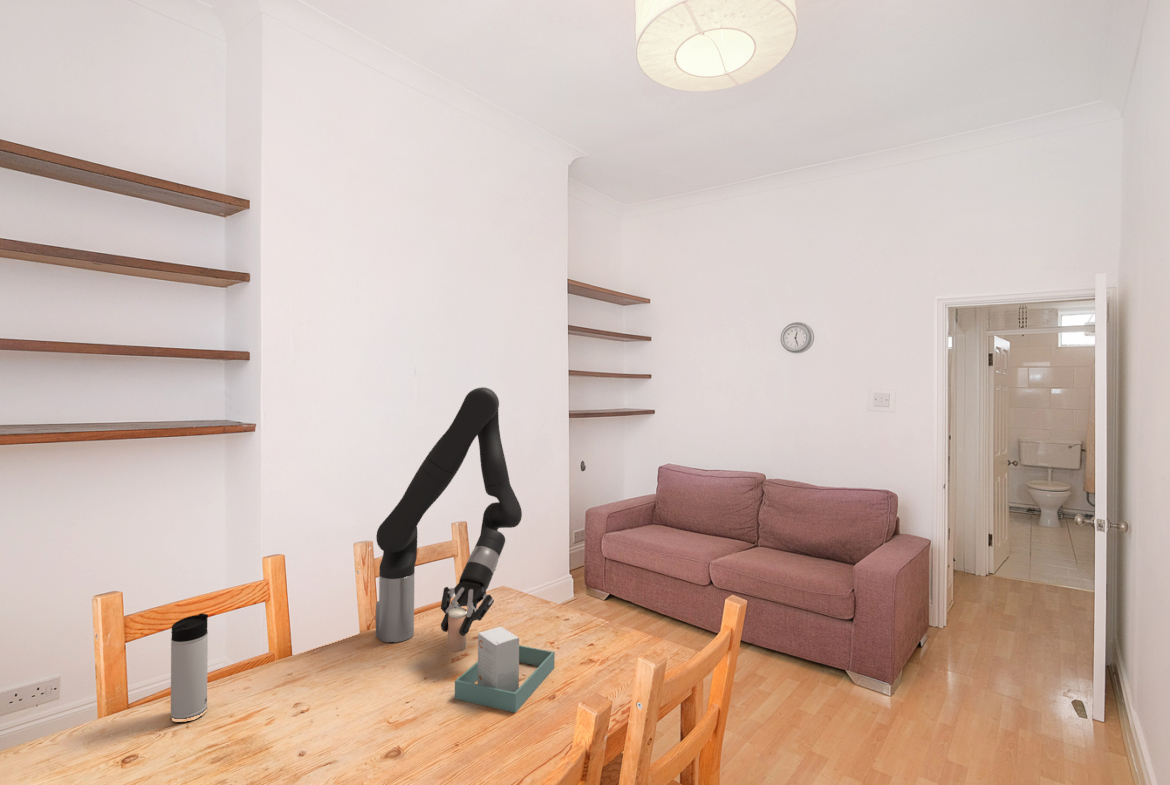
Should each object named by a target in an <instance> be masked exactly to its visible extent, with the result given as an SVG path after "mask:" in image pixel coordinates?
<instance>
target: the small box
mask: <svg viewBox="0 0 1170 785" xmlns="http://www.w3.org/2000/svg"><path fill="white" fill-rule="evenodd" d="M519 645H520V637H519V636H517V635H516V634H514V633H512V632H511V631H509V630H508V629H507V628H504V627H503V626H498V627H494V628H491V629H487V630H484V631H480V632H478V634H477V661H478V680H477V683H476V684H478V685H483V686H487V687H492V688H497V689H501V690H506V691H510V692H516V691H517V689H518V688H519V687H520V662H519Z"/></svg>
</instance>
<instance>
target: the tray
mask: <svg viewBox="0 0 1170 785" xmlns="http://www.w3.org/2000/svg"><path fill="white" fill-rule="evenodd" d="M555 654H556V653H555V651H552V650H546V649H542V648H536V647H530V646H525V645H520V644H519V663H521V664H527V665H533V666H535V667H536V666H537V668H536V669H535V670H534V671H533V672H532V673H531V674H530V675H529V677H527V679H525V680H524V682H523V683H522V684H521V685H519V688H518V689H517V691H516V692H510V691H506V690H501V689H497V688H492V687H487V686H483V685H478V684H477V683H476V682H478V660H477V661H476V662H475V663H474V664H473V665H471V666H470V667H469V668H468V669H467V670H465V671H464V673H462V674H461V675H460V676H459V677H457V678H456V679H455V680H454V700H459V701H462V702H467V703H471V704H475V705H480V706H485V707H490V708H492V709H497V710H502V711H506V712H510V713H511V712H512V713H517V712H518V711H519V709H521V707H522V706H523V705H524V703H526V701H527V700H528V699H529V698H530V697H531V696H532V694H534V692H535V691H536V690H537V688H538V687H539V686H540V685H541V684H542V683H543V682H544V681H545V679H546V678H547V677H548V676H549V675H550V674H551V673H552V671H553V670H554V669H555Z"/></svg>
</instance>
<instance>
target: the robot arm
mask: <svg viewBox="0 0 1170 785" xmlns="http://www.w3.org/2000/svg"><path fill="white" fill-rule="evenodd" d="M499 408H500V401H499V397H498V395H497V393H495V391H493V390H492V389H491V388H488V387H484V386H483V387H477V388H474V389H472V390H470V391H469V392H468V393H467V394H466V395H465V398H464V400H463V401H462V403H461V406H460V407H459V410H458V412H457V413H456V415H455V417H454V419H453V421H452V423H451V424H450V425H449V427H448V429H447V430H446V431H445V432H444V434H442V436H440V438H439V439H438V440H437V442H436V443H435V444H434V445H433V447H432V448H431V449H430V451H429V452H428V454H427V456H426V457H425V458H424V459H423V461H422V463H421V465H420V466H419V468H418V469H417V471H416V472H415V474H414V476H413V478H412V479H411V481H410V482H409V484H408V486H407V488H406V490H405V492H404V493H403V495H402V497H401V499H400V500H399V501H398V503H397V505H396V506H394V508H393V509H392V511H391V512H390V513H389V515H387V517H386V518H385V519H384V520H383V521H382V522H381V524H380V525H379V526H378V528H377V532H376V535H375V537H376V538H375V539H376V543H377V547H379V549H380V550H382V551H383V553H382V558H381V560H380V564H379V571H378V572H379V573H378V574H379V577H378V580H379V582H378V585H379V587H378V590H379V591H378V592H379V593H378V597H379V598H378V601H377V602H376V603H375V638H378V639H379V640H380V641H381V642H383V641H385V642H384V643H389V642H394V643H400V642H404V641H408V640H410V639H411V638H412V637H413V636H414V634H415V633H414V632H415V572H416V571H415V569H416V568H415V566H416V563H417V562H416V561H417V556H418V525H419V523H420V522H421V520H422V517H424V515H425V513H426V512H427V511H428V510H429V509H430V508H431V506H432V505H433V504H434V503H435V502H436V501H437V500H438V499H439V498H440V496H441V495H442V494H443V492H444V491H445V490H446V489H447V488H448V487H449V485H450V483H451V482H452V480H453V479H454V478H455V476H456V475H457V473H458V471H459V469H460V468H461V467H462V464H463V462H464V460H465V458H466V456H467V454H468V451H469V449H470V448H471V446H472V444H473V442H474V441H475V439H476V438H477V440H478V447H479V457H480V458H479V461H480V468H481V475H482V480H483V485H484V490H485V493H486V495H488V496H491V497H494V498H495V499H497V500H498V502H495V501H494V502H491V503H490V504H489V505H487V506H486V508H485V510H484V512H483V515H482V523H481V528H480V536H479V537H478V540H477V542H476V544H475V546H474V548H473V550H472V552H471V553H470V555H469V557H468V560H466V564H465V566H464V568H463V571H462V573H461V575H460V576H459V582H458V584H456V586H455V587H452V588H451V587H450V588H449V587H448V586H445V587H444V588H443V591H442V592H443V593H442V597H441V598H442V599H441V604H440V609H441V611H442V612H443V613H444V617H443V619H442V622H441V623H440V628H441V630H442V632H444V633H448V614H449V610H451V609H453V608H463V607H466V608H467V609H466V610H467V618H466V617H465V619H464V621H463V623H462V626H461V628H460V631H459V633H460V634H461V635H462V636H465V634H466V635H467V634H468V633H469V631H470V629H471V626H472V624H473V622H474V621H479V622H480V621H482V620H483V618H484V616H485V615H486V614H487V612H488V611H489V609H490V608H491V606H493V604H494V602H495V601H494V598H493V597H492V596H491V595H490V594H487V590H488V588H489V586H490V584H491V581H492V578H493V576H494V574H495V571H496V569H497V566H498V563H499V559H500V557H501V554H502V553H503V552H502V551H503V549H504V546H505V544H506V538H505V535H504V534H503V533H502V532H500V531H499V529H502V528H503V529H506V528H507V529H509V528H510V529H512V528H516V527H518V525H520V522H521V520H522V517H523V516H522V515H523V512H522V507H521V504H520V502H519V500H518V498H517V496H516V494H515V492H514V490H513V487H512V485H511V483H510V476H509V471H508V466H507V462H506V457H505V453H504V447H503V444H502V439H501V432H500V421H499ZM454 595H455V596H454ZM480 602H481V603H480ZM479 603H480V605H479V606H478V604H479Z"/></svg>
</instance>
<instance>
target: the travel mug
mask: <svg viewBox="0 0 1170 785" xmlns="http://www.w3.org/2000/svg"><path fill="white" fill-rule="evenodd" d="M208 618H209V615H208V614H207V613H203V612H202V613H199V614H196V615H190V616H187V617H184V618H181V619H179V620H178V621H175V623H173V624H172V625H171V638H170V718H171V717H172V718H174V719H187V718H191V717H194V716H197V715H200V714H201V713H203V712H204V711H205V710H206V709H207V710H208V652H209V650H208V649H209V648H208V643H209V642H208V639H209V638H208V637H209V635H208V633H209V632H208Z"/></svg>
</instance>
